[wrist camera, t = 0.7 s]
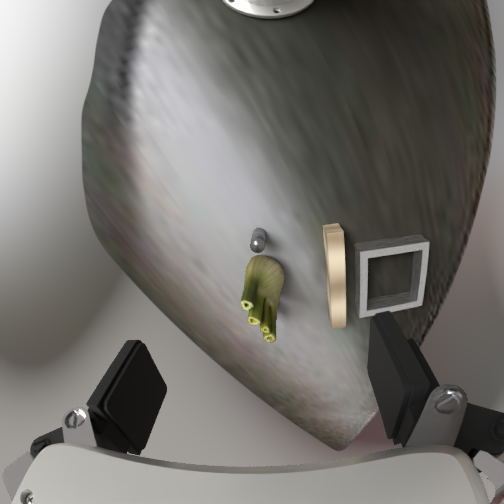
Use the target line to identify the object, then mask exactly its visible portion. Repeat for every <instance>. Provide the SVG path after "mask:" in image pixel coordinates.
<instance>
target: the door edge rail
mask: <svg viewBox="0 0 504 504" xmlns="http://www.w3.org/2000/svg"><path fill="white" fill-rule="evenodd" d="M323 234H324V245H325V258H326V272H327V289H328V310H329V319H330V323H331V327H332V329H335V328H341V327H346V272H345V247H344V231H343V230H342V228H341V227H340V225H339V224H338V223H336V224H329V225H323Z"/></svg>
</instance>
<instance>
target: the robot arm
mask: <svg viewBox="0 0 504 504" xmlns="http://www.w3.org/2000/svg"><path fill="white" fill-rule="evenodd" d="M222 1H223V2H224V3H225V4H226V5H227V6H228V7H230V8H231V9H232V10H234V11H236V12H238V13H240V14H243V15H247V16H250V17H255V18H264V19H274V18H283V17H287V16H291V15H294V14H297V13H299V12H301V11H303V10H304V9H306V8H307V7H308V6H310V5H311V4H312V3H313V1H314V0H222ZM231 2H233V3H231ZM275 12H278V13H275ZM367 369H368V375H369V378H370V381H371V384H372V387H373V390H374V394H375V397H376V400H377V403H378V406H379V410H380V413H381V416H382V419H383V423H384V427H385V430H386V434H387V437H388V439H393V442H394V445H396V444H399V443H402V446H403V447H402V448H396V449H391V450H386V451H381V452H376V453H371V454H366V455H361V456H356V457H350V458H345V459H339V460H332V461H325V462H317V463H309V464H300V465H287V466H269V467H225V466H207V465H195V464H185V463H177V462H169V461H162V460H155V459H150V458H144V457H139V456H134V455H129V454H127V451H128V452H129V453H131V454H135V455H140V453H141V451H142V450H143V449H144V448H145V446H146V444H147V441H148V439H149V436H150V433H151V431H152V428H153V426H154V423H155V421H156V418H157V415H158V413H159V410H160V408H161V405H162V402H163V400H164V398H165V395H166V392H167V386H166V384H165V382H164V380H163V378H162V376H161V374H160V373H159V371H158V369H157V367H156V365H155V363H154V361H153V359H152V358H151V355H150V353H149V351H148V349H147V347H146V345H145V344H144V343H142V342H141V341H140V340H128V341H126V343H125V344H124V346H123V347H122V349H121V350H120V352H119V353H118V355H117V357H116V358H115V359H114V361H113V363H112V364H111V365H110V367H109V369H108V370H107V372H106V373H105V375H104V376H103V378H102V380H101V381H100V383H99V384H98V386H97V388H96V389H95V391H94V392H93V394H92V396H91V397H90V399H89V400H88V402H87V406H88V407H89V409H88V410H86V409H85V408H83V407H75V408H72V409H71V410H69V411H68V412H67V413H66V414H65V415H64V417H63V419H62V427H61V428H58V429H56V430H54V431H52V432H49V433H47V434H45V435H43V436H40V437H38V438H37V439H35V440H34V442H33V443H32V445H31V453H30V452H29V451H27V452H26V453H25V454H23V455H22V456H21V457H19V458H18V459H17V460H15V461H14V462H13V463H12V464H10V465H9V466H7V467H6V469H5V470H4V472H3V481H4V483H5V486H6V488H7V491H8V493H9V495H10V498H11V500H12V504H504V413H502V412H498V411H494V410H491V409H487V408H484V407H480V406H476V405H473V404H470V403H467V401H468V399H467V395H466V393H465V392H464V391H463V390H462V389H461V388H460V387H458V386H456V385H450V384H446V385H441V386H440V385H439V383H438V381H437V379H436V378H435V376H434V374H433V372H432V370H431V368H430V367H429V365H428V363H427V361H426V360H425V358H424V356H423V354H422V353H421V351H420V349H419V347H418V346H417V344H416V342H415V341H414V340H413V339H408V340H407V339H406V337H405V336H404V334H403V332H402V330H401V329H400V327H399V325H398V324H397V322H396V320H395V319H394V317H393V315H392V314H391V312H390V311H384V312H380V313H376V314H375V317H374V318H371V320H370V339H369V354H368V366H367ZM480 472H483V473H485V474H486V475H487V476H488V478H487V479H488V480H490V481H491V482H492V483H493V484H494V485H495V489H496V492H495V497H494V499H493V500H492V502H491V503H489V499H488V496H487V493H486V490H485V487H484V484H483V482H482V479H481V477H480V475H479V473H480Z"/></svg>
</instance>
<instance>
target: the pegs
mask: <svg viewBox="0 0 504 504" xmlns="http://www.w3.org/2000/svg"><path fill="white" fill-rule="evenodd" d="M265 236H266V233H265V231H264V230H263V229H262V228H256V229H255V230H254V231H253V235H252V240H251V244H250V248H251V250H252V251H253V252H256V253H260V252H262V251H263V250H264V247H265ZM276 319H277V311H276Z"/></svg>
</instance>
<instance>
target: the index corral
mask: <svg viewBox="0 0 504 504" xmlns="http://www.w3.org/2000/svg"><path fill="white" fill-rule="evenodd" d="M354 248H355V308H356V311H357V313H358V316H359V318H362V317H368V316H373V315H375V314H376V313H380V312H384V311H390V312H394V311H399V310H404V309H408V308H413V307H417V306H422V302H423V296H424V289H425V282H426V274H427V264H428V254H429V241H428V240H427V239H426V238H424V237H423V236H422V235H421V234H417V235H410V236H403V237H396V238H389V239H382V240H375V241H367V242H360V243H354ZM412 251H413V265H412V277H411V286H410V291H408V292H403V293H398V294H392V295H387V296H381V297H376V298H370V299H367V286H368V258H373V257H380V256H386V255H393V254H399V253H405V252H412Z"/></svg>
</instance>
